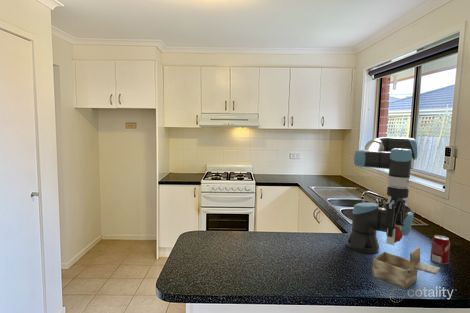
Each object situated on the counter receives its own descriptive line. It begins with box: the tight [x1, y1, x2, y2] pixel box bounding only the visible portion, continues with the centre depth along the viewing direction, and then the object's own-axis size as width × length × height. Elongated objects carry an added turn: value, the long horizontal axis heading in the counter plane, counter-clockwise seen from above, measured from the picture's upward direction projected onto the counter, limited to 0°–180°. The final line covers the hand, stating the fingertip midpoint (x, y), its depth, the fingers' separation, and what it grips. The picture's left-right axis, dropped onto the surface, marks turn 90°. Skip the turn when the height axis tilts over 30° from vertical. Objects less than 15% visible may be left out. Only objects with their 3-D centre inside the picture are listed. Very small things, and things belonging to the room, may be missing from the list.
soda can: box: [429, 234, 451, 265], centre depth 130 cm, size 7×7×12 cm
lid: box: [409, 246, 441, 275], centre depth 106 cm, size 7×10×8 cm
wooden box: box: [371, 251, 419, 290], centre depth 114 cm, size 14×12×8 cm
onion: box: [385, 224, 404, 244], centre depth 114 cm, size 6×6×8 cm
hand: (393, 242), depth 114 cm, fingers closed on onion, 6 cm apart
